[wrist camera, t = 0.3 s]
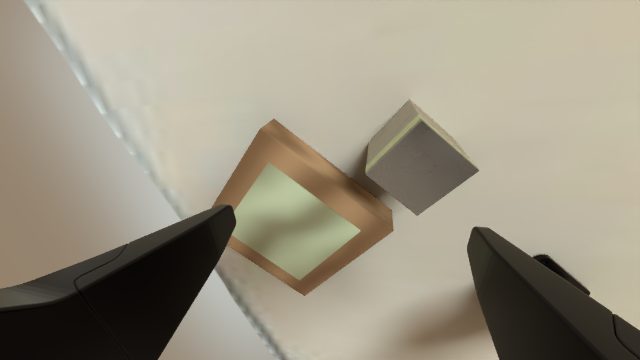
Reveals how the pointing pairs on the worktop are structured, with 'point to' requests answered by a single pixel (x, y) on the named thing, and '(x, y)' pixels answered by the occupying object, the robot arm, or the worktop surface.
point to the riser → (299, 211)
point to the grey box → (416, 159)
